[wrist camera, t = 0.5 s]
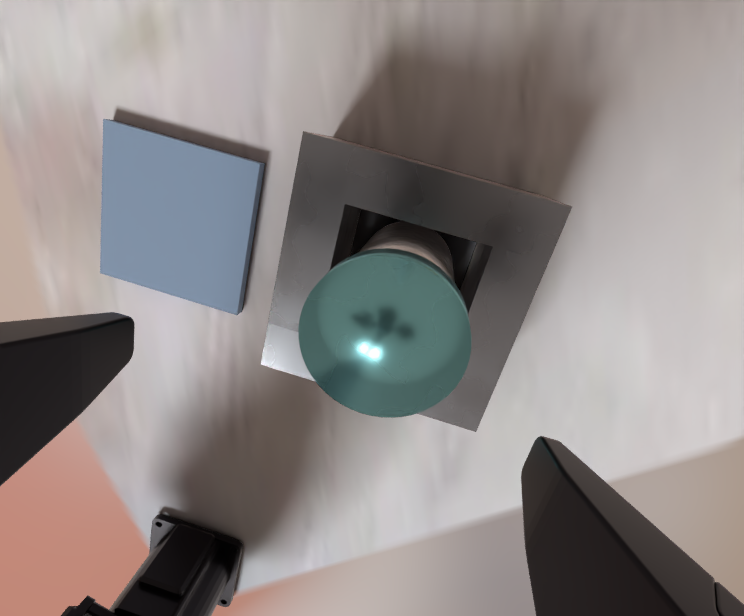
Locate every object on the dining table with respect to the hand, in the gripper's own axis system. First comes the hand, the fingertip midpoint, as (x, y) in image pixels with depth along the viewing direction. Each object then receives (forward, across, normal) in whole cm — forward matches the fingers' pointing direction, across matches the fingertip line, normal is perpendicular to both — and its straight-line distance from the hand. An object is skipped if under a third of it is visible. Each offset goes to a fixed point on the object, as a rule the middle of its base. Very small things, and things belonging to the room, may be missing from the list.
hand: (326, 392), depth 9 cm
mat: (+13, +11, +1) cm, 17 cm away
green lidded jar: (+13, -1, 0) cm, 13 cm away
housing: (+13, -1, 0) cm, 13 cm away
